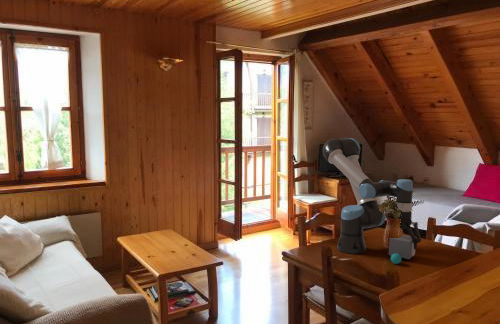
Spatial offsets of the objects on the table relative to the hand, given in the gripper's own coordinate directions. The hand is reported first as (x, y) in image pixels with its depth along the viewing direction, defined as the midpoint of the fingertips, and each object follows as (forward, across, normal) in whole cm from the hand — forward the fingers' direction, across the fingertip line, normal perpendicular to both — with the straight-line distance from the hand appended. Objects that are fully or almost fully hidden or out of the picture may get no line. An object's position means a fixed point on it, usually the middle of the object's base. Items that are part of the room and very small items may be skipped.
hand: (402, 252), depth 214 cm
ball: (0, 0, -11) cm, 11 cm away
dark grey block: (+1, 0, 0) cm, 1 cm away
